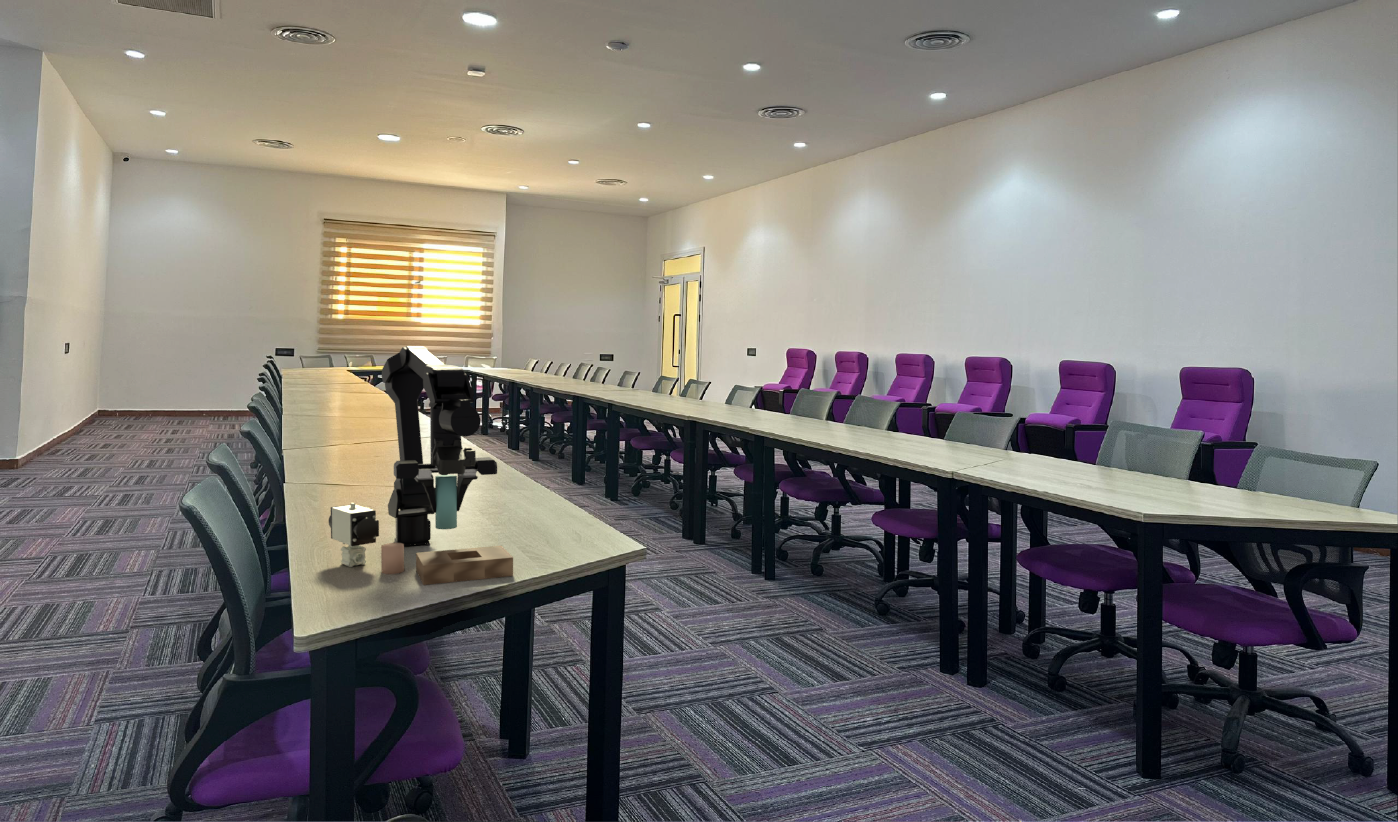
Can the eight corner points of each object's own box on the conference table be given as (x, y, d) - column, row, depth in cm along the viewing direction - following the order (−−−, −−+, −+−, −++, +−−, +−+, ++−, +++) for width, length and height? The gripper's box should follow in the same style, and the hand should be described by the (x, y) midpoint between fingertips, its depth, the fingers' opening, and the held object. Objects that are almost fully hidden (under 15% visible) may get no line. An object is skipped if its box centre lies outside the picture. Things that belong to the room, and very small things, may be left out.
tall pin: (437, 530, 158) (437, 478, 157) (434, 526, 161) (433, 475, 161) (458, 528, 159) (458, 477, 159) (455, 524, 163) (454, 474, 162)
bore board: (423, 584, 146) (423, 565, 146) (416, 571, 155) (416, 552, 155) (513, 575, 153) (513, 557, 153) (501, 563, 162) (501, 545, 162)
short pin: (382, 575, 152) (382, 548, 152) (380, 569, 156) (380, 543, 155) (405, 573, 154) (405, 546, 154) (402, 567, 158) (402, 542, 157)
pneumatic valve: (355, 572, 153) (355, 509, 153) (327, 560, 161) (327, 500, 160) (384, 567, 158) (383, 505, 157) (355, 556, 165) (354, 497, 164)
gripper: (399, 437, 148) (400, 523, 149) (503, 434, 156) (503, 516, 157) (393, 431, 158) (393, 512, 159) (491, 429, 166) (491, 505, 167)
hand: (446, 511), depth 160 cm, fingers closed on tall pin, 4 cm apart
